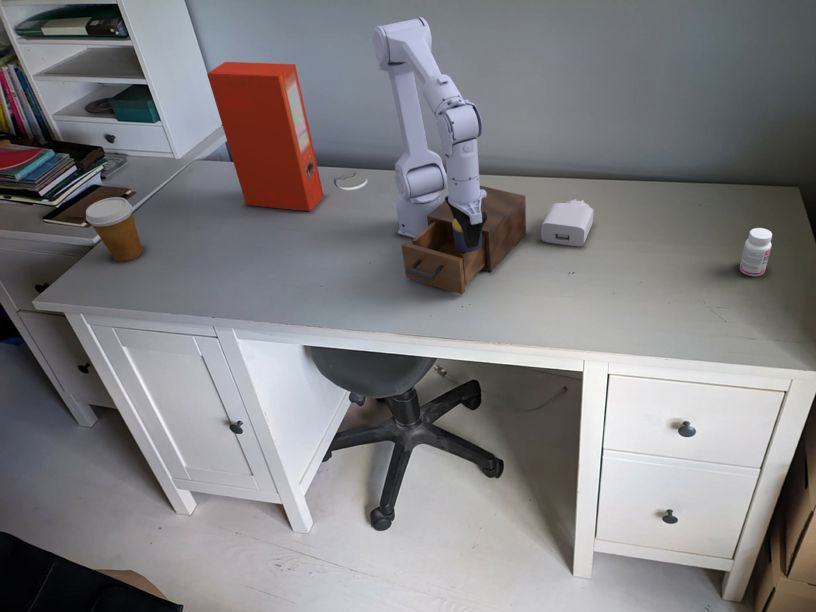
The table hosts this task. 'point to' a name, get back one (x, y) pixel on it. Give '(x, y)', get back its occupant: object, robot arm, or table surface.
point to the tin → (462, 239)
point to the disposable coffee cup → (115, 227)
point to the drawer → (442, 259)
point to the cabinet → (494, 222)
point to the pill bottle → (756, 252)
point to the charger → (567, 223)
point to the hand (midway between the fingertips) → (467, 238)
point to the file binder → (267, 134)
